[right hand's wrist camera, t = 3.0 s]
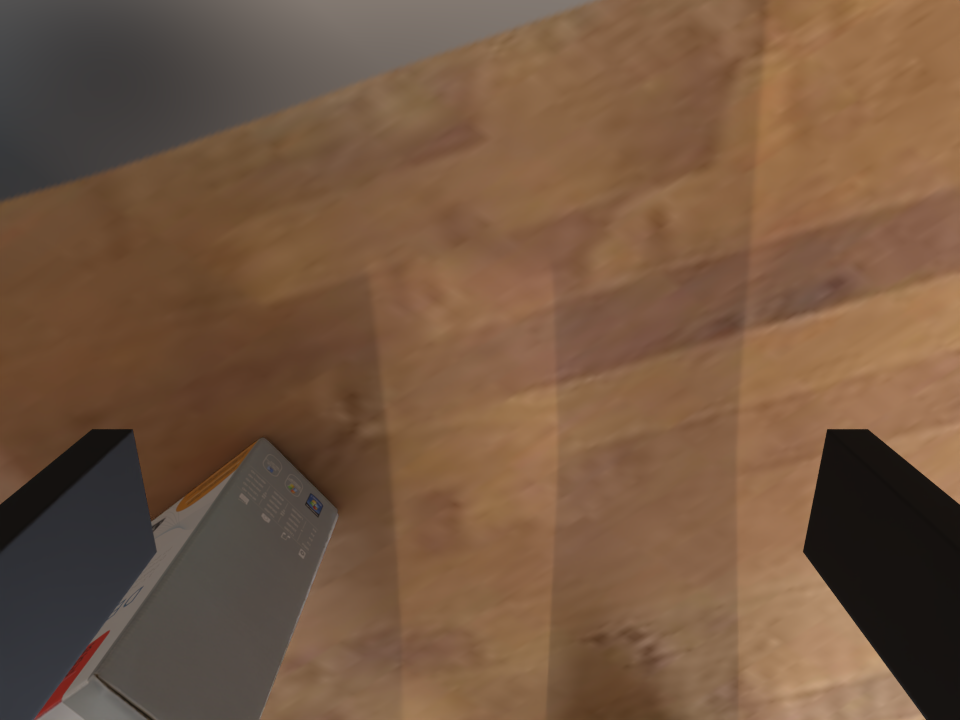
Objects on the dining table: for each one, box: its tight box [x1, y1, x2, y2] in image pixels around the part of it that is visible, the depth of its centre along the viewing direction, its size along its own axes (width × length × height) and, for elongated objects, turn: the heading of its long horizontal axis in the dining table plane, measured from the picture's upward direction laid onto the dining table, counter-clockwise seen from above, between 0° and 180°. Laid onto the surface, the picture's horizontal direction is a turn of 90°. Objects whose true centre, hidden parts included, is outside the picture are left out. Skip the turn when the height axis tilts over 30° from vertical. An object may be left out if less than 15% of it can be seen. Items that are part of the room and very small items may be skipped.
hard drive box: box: [34, 438, 338, 720], centre depth 37 cm, size 16×8×20 cm, turn 128°
